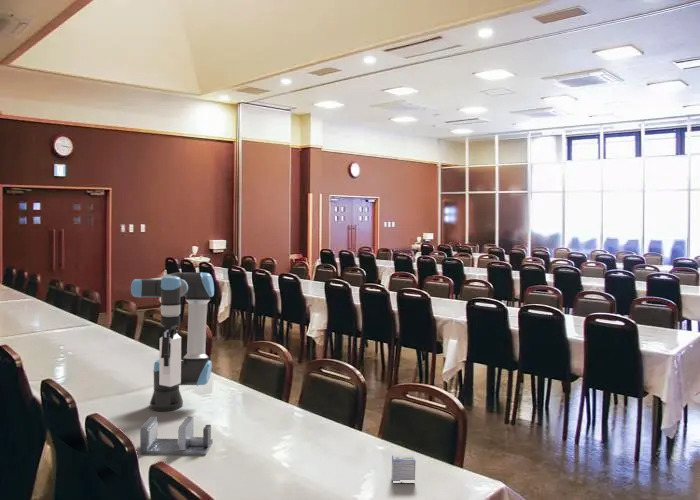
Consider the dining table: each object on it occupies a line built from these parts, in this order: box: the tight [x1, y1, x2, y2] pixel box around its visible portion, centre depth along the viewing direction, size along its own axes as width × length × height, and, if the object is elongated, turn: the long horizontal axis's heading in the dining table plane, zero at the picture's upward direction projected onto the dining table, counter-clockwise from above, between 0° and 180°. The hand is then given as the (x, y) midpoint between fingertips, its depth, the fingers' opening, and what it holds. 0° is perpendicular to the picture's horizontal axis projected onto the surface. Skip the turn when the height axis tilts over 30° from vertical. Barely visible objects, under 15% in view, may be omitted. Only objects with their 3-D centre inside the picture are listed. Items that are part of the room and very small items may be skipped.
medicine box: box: [391, 454, 417, 481], centre depth 201 cm, size 8×4×9 cm, turn 92°
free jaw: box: [177, 415, 212, 450], centre depth 225 cm, size 12×11×9 cm
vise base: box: [139, 416, 214, 456], centre depth 225 cm, size 12×25×10 cm, turn 91°
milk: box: [158, 333, 182, 387], centre depth 230 cm, size 6×6×22 cm
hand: (170, 371), depth 230 cm, fingers closed on milk, 8 cm apart
